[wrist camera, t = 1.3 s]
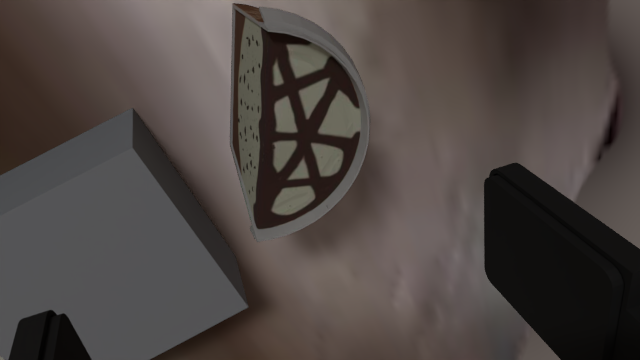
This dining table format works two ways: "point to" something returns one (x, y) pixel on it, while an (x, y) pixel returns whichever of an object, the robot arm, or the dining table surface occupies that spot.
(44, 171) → the grey block
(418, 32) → the dining table surface
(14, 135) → the dining table surface
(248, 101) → the food container
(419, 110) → the dining table surface
